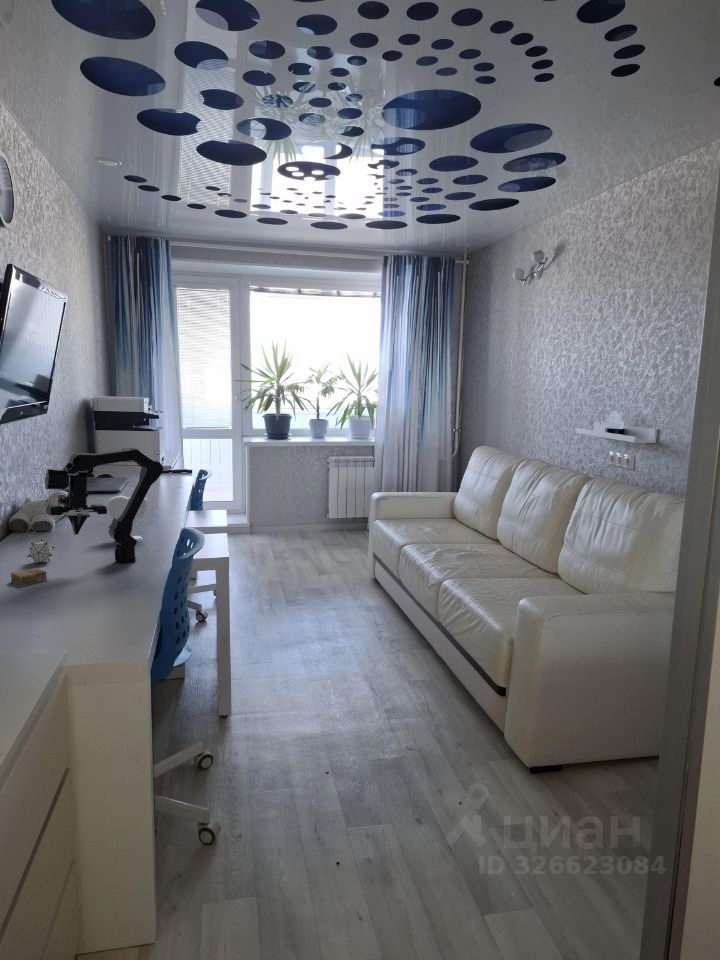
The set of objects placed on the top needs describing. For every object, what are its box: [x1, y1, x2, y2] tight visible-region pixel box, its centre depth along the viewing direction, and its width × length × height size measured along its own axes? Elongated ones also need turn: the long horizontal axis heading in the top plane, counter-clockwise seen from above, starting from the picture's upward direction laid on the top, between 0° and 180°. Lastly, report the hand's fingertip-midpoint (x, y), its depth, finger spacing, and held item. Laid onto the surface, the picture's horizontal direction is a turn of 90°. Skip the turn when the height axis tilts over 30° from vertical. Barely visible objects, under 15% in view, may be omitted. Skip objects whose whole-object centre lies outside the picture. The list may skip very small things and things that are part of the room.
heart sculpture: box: [106, 495, 148, 540], centre depth 267 cm, size 16×5×18 cm, turn 107°
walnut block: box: [10, 567, 47, 587], centre depth 211 cm, size 3×7×8 cm
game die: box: [26, 539, 55, 565], centre depth 231 cm, size 9×8×10 cm
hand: (76, 534), depth 223 cm, fingers closed
